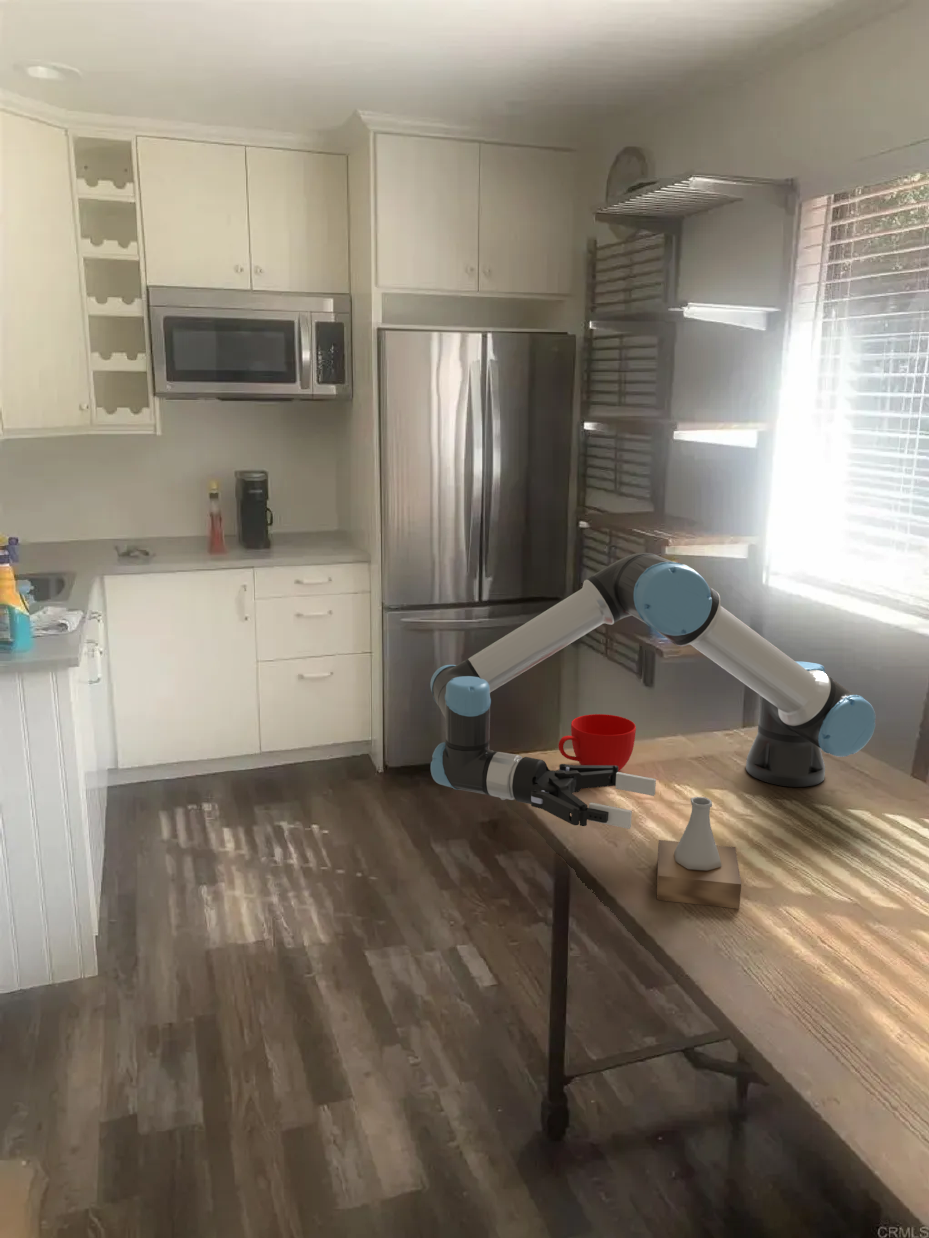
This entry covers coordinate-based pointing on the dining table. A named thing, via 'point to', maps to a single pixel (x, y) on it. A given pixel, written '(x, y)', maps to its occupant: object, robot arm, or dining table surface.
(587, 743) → the ceramic cup
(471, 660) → the robot arm
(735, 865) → the plinth
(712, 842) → the flask
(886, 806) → the dining table surface
